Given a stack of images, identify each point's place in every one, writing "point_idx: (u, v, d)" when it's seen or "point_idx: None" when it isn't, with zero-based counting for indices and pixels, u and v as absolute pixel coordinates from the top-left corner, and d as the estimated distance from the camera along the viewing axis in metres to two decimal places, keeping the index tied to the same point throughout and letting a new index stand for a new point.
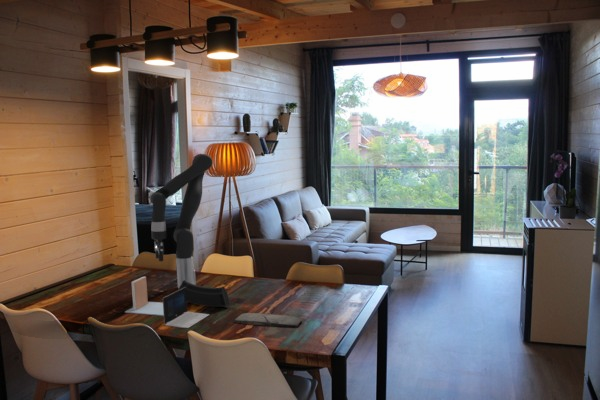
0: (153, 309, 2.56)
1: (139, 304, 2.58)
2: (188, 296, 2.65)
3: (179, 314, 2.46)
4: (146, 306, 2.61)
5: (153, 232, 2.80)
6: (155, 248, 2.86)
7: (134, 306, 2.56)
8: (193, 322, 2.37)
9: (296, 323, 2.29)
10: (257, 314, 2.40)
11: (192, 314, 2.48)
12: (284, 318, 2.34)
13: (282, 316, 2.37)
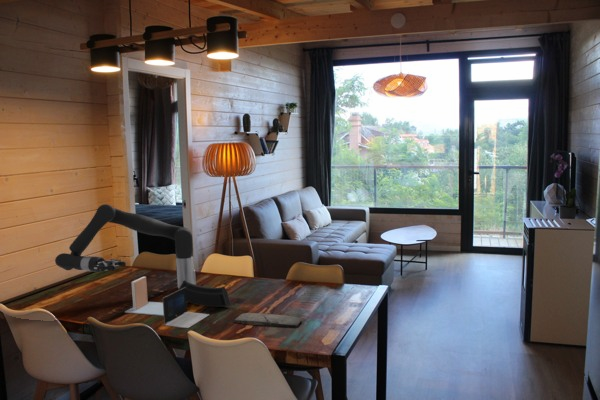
0: (153, 309, 2.56)
1: (139, 304, 2.58)
2: (188, 296, 2.65)
3: (179, 314, 2.46)
4: (146, 306, 2.61)
5: None
6: None
7: (134, 306, 2.56)
8: (193, 322, 2.37)
9: (296, 323, 2.29)
10: (257, 314, 2.40)
11: (192, 314, 2.48)
12: (284, 318, 2.33)
13: (282, 316, 2.37)
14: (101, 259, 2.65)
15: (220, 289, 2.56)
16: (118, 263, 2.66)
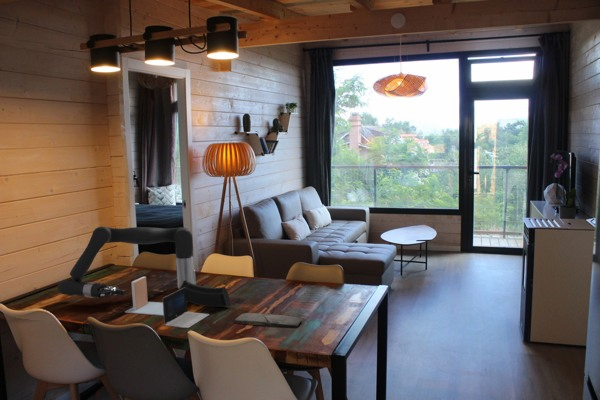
0: (153, 309, 2.56)
1: (139, 304, 2.58)
2: (189, 296, 2.65)
3: (179, 314, 2.46)
4: (146, 306, 2.61)
5: (94, 297, 2.66)
6: None
7: (134, 306, 2.56)
8: (193, 322, 2.37)
9: (296, 323, 2.29)
10: (257, 314, 2.40)
11: (192, 314, 2.48)
12: (284, 319, 2.33)
13: (282, 316, 2.37)
14: (103, 285, 2.67)
15: (220, 289, 2.56)
16: None
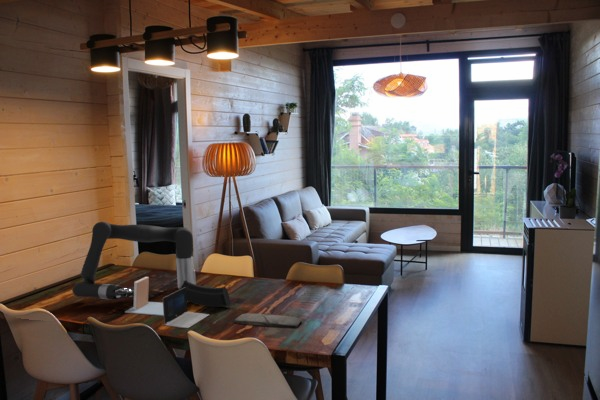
0: (153, 309, 2.56)
1: (139, 304, 2.58)
2: (189, 296, 2.64)
3: (179, 314, 2.46)
4: (146, 306, 2.61)
5: None
6: None
7: (134, 306, 2.56)
8: (193, 322, 2.37)
9: (295, 323, 2.29)
10: (257, 314, 2.40)
11: (192, 314, 2.48)
12: (284, 319, 2.33)
13: (282, 316, 2.37)
14: (118, 287, 2.64)
15: (221, 289, 2.56)
16: None
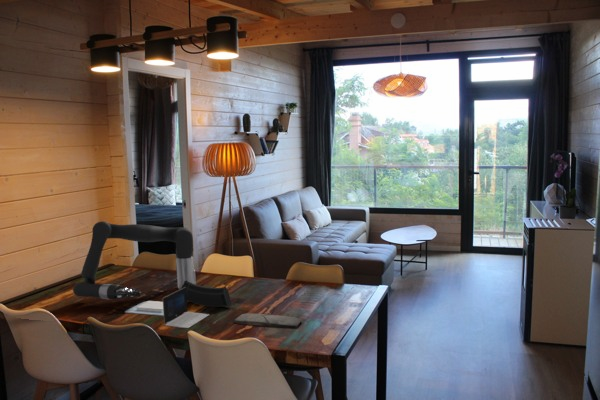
0: None
1: None
2: (190, 296, 2.64)
3: (179, 314, 2.46)
4: None
5: (110, 299, 2.63)
6: None
7: (139, 308, 2.55)
8: (193, 322, 2.37)
9: (295, 323, 2.28)
10: (257, 314, 2.40)
11: (192, 314, 2.47)
12: (284, 319, 2.33)
13: (282, 316, 2.36)
14: (119, 287, 2.64)
15: (221, 289, 2.56)
16: None
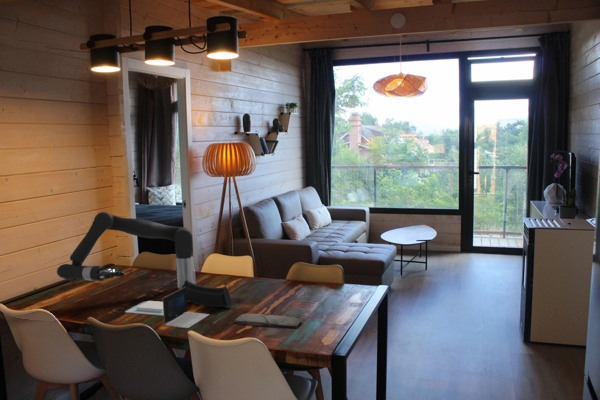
0: None
1: None
2: (190, 296, 2.64)
3: (179, 314, 2.46)
4: None
5: (93, 280, 2.65)
6: None
7: (139, 308, 2.55)
8: (193, 322, 2.37)
9: (295, 324, 2.28)
10: (257, 315, 2.40)
11: (192, 314, 2.47)
12: (284, 319, 2.33)
13: (282, 316, 2.36)
14: (102, 268, 2.66)
15: (222, 289, 2.55)
16: None
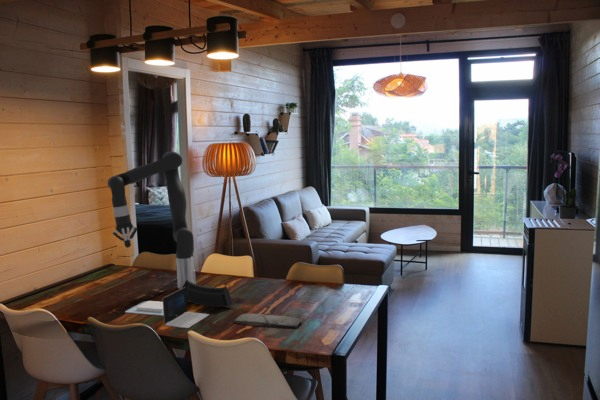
0: None
1: None
2: (191, 296, 2.64)
3: (179, 314, 2.46)
4: None
5: None
6: (126, 234, 2.74)
7: (139, 308, 2.55)
8: (193, 322, 2.37)
9: (295, 324, 2.28)
10: (257, 315, 2.40)
11: (192, 314, 2.48)
12: (284, 319, 2.32)
13: (282, 317, 2.36)
14: (126, 223, 2.71)
15: (222, 289, 2.55)
16: (126, 239, 2.73)
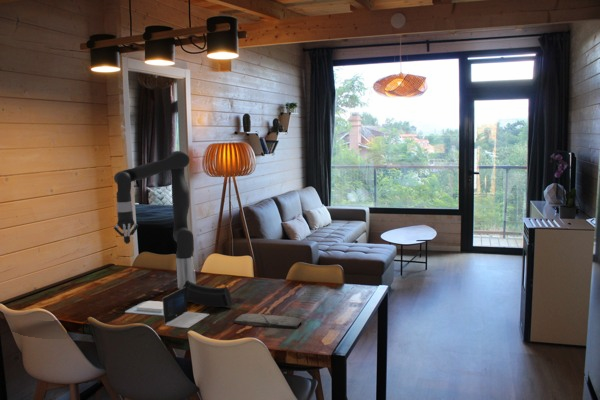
0: None
1: None
2: (191, 296, 2.64)
3: (179, 314, 2.46)
4: None
5: None
6: None
7: (139, 308, 2.55)
8: (193, 322, 2.37)
9: (295, 324, 2.28)
10: (257, 315, 2.39)
11: (192, 314, 2.47)
12: (284, 319, 2.32)
13: (282, 317, 2.36)
14: (128, 219, 2.71)
15: (222, 289, 2.55)
16: None
